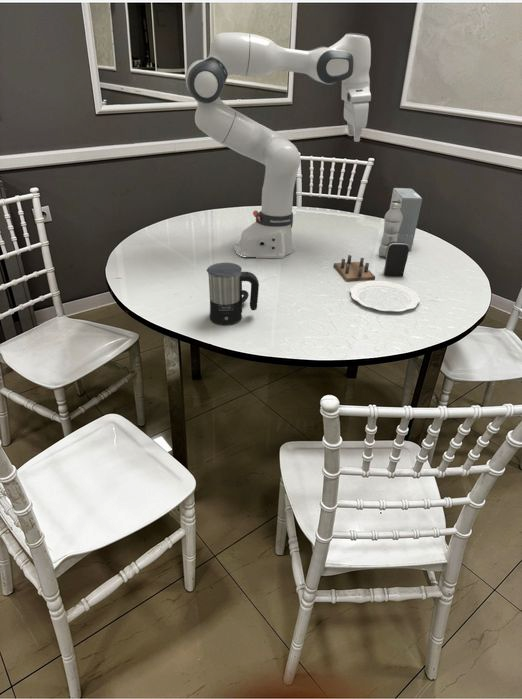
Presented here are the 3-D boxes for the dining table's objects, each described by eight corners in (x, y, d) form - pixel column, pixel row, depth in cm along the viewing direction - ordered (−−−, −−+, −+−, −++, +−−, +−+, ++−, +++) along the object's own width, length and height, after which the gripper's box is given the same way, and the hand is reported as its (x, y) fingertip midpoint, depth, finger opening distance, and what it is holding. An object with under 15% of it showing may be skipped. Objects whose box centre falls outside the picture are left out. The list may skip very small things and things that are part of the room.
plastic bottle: (397, 254, 177) (407, 201, 166) (393, 260, 172) (404, 205, 161) (380, 251, 179) (389, 198, 168) (375, 257, 174) (385, 203, 163)
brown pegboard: (346, 281, 155) (348, 269, 153) (333, 266, 166) (334, 254, 164) (374, 279, 157) (376, 268, 155) (360, 264, 168) (362, 253, 165)
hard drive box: (411, 251, 180) (423, 198, 170) (391, 250, 181) (401, 198, 170) (402, 237, 194) (412, 187, 183) (383, 236, 194) (392, 187, 183)
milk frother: (214, 328, 127) (213, 277, 119) (197, 303, 139) (195, 255, 131) (262, 319, 132) (264, 270, 124) (242, 295, 144) (242, 249, 136)
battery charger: (401, 272, 163) (408, 240, 157) (403, 277, 160) (410, 244, 153) (381, 271, 163) (387, 239, 157) (383, 276, 160) (389, 244, 154)
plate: (406, 322, 134) (407, 317, 133) (338, 303, 143) (339, 298, 142) (426, 296, 149) (427, 291, 148) (364, 279, 158) (365, 275, 157)
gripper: (339, 89, 161) (339, 133, 169) (351, 97, 144) (350, 145, 152) (358, 88, 161) (356, 131, 169) (372, 95, 144) (370, 143, 152)
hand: (353, 138), depth 160 cm, fingers open, 8 cm apart
